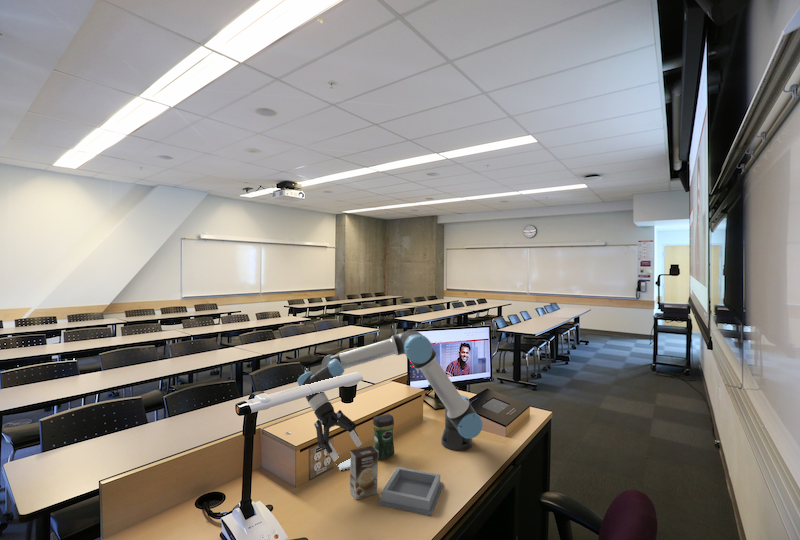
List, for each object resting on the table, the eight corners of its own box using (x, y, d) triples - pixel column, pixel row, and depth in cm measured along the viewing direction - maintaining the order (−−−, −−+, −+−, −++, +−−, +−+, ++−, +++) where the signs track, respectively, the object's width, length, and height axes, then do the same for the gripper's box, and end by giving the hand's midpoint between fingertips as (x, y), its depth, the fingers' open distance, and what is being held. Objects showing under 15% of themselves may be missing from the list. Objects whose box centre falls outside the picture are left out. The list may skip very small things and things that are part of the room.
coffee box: (355, 500, 141) (355, 457, 141) (349, 491, 146) (349, 450, 146) (378, 493, 145) (378, 452, 145) (371, 485, 151) (371, 445, 151)
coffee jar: (388, 449, 180) (388, 410, 180) (396, 456, 173) (396, 416, 173) (370, 454, 175) (370, 414, 175) (377, 462, 168) (378, 420, 168)
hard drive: (332, 455, 172) (340, 468, 161) (349, 451, 176) (358, 464, 164) (332, 458, 172) (340, 472, 161) (349, 455, 176) (358, 467, 164)
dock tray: (396, 475, 157) (396, 465, 157) (443, 484, 151) (443, 473, 151) (378, 504, 138) (378, 492, 138) (431, 516, 132) (431, 503, 132)
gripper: (337, 402, 169) (363, 444, 161) (293, 421, 148) (320, 471, 140) (346, 393, 166) (373, 435, 158) (303, 411, 145) (331, 461, 137)
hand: (348, 452), depth 149 cm, fingers open, 13 cm apart
